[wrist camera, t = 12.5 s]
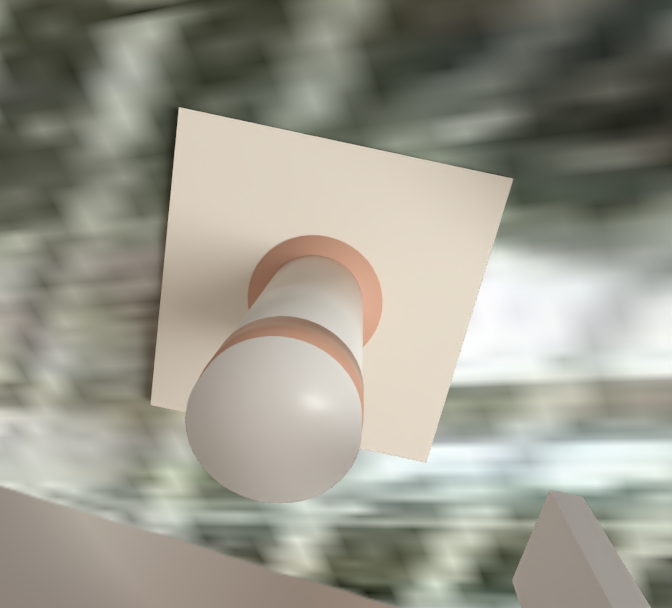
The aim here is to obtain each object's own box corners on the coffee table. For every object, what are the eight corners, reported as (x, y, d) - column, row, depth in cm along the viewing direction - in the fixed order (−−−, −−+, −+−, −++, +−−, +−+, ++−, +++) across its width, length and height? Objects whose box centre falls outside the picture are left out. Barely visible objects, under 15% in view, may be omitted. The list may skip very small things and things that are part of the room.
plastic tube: (274, 244, 24) (193, 327, 13) (373, 265, 24) (382, 367, 13) (258, 337, 26) (175, 485, 14) (352, 357, 26) (343, 519, 14)
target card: (183, 108, 23) (178, 106, 23) (509, 177, 23) (513, 178, 23) (154, 399, 28) (149, 405, 27) (424, 456, 28) (426, 463, 28)
